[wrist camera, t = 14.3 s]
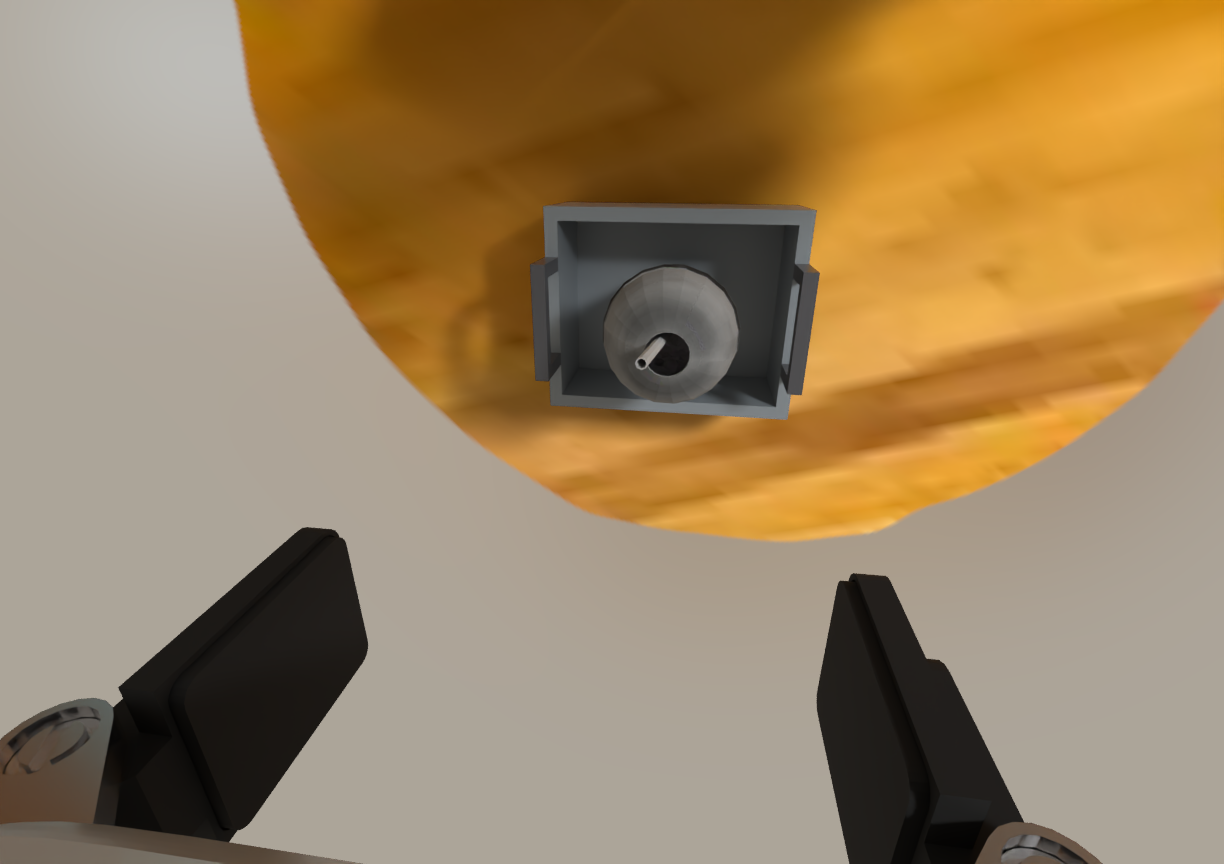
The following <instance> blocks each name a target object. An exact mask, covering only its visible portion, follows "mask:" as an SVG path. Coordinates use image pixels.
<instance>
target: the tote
mask: <svg viewBox="0 0 1224 864" xmlns="http://www.w3.org/2000/svg"><path fill="white" fill-rule="evenodd" d="M816 211H817V210H814V209H810V208H807V207H803V206H800V205H760V204H690V203H620V202H564V203H558V204H553V205H547V206H543V212H544V239H545V257H544V258H542V259H540V260H538V261H536V262H534V263H532V264H530V273H531V294H532V315H533V336H534V358H535V379H536V381H549V380H550V402H551V405H552V406H569V407H586V408H602V409H619V410H636V411H652V412H669V413H685V414H702V415H719V416H735V417H752V418H769V419H785V420H787V418H788V411H789V404H790V396H791V395H802V389H803V383H804V376H805V369H806V362H807V356H808V349H809V342H810V335H811V329H812V322H813V315H814V308H815V302H816V295H817V288H818V281H819V274H820V273H819V272H818V271H817V270H816V269H814V268H813V267H812V266H811V265H809V261H810V253H811V246H812V239H813V232H814V225H815V218H816ZM663 264H685V265H688V266H690V267H693V268H695V269H698V270H700V271H703V272H705V273H708V274H709V275H710V276H711V277H712V278H714V279H715V280H716V281H717V282H718V283H719V284H721V285H722V286H723V287H724V288H725V289H726V291H727V292H728V294H729V296H730V298H731V299H732V301H733V303H734V304H735V306H736V309H737V314H738V318H739V323H740V328H741V329H740V338H739V346H738V351H737V353H736V355H735V357H734V359H733V362H732V364H731V366H730V368H729V370H728V371H727V373H726V374H725V375H724V376H723V377H722V379H721V380H720V381H719V382H718V383H717V384H716V385H715V386H714V387H713V388H712V389H711V390H710V391H708V392H706V393H704V394H702V395H701V396H699V397H697V398H695V399H693V400H689V401H684V402H680V403H675V404H672V403H659V402H653V401H650V400H648V399H645V398H643V397H640V396H638V395H636V394H635V393H633V392H632V391H631V390H629V389H628V388H627V387H626V386H624V385H623V384H622V383H621V382H620V380H619V379H618V377H617V376H616V375H615V373H614V372H613V370H612V369H611V367H610V364H609V361H608V358H607V354H606V351H605V347H604V343H603V320H604V317H605V314H606V311H607V308H608V306H609V303H610V300H611V299H612V297H613V296H614V295H615V293H616V292H617V291H618V290H619V288H620V287H621V286H622V284H623V283H624V282H626V281H627V280H629V279H630V278H632V277H633V276H635V275H636V274H638V273H639V272H640V271H642V270H645V269H648V268H652V267H656V266H659V265H663Z"/></svg>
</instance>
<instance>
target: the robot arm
mask: <svg viewBox="0 0 1224 864" xmlns="http://www.w3.org/2000/svg"><path fill="white" fill-rule="evenodd" d="M367 649H368V641H367V636H366V631H365V627H364V622H363V618H362V613H361V609H360V604H359V599H358V595H357V590H356V586H355V582H354V577H353V573H352V568H351V563H350V559H349V554H348V550H347V546H346V542H345V540H344V539H343V538H339V535H338V533H337V532H336V531H335V530H332V529H321V528H309V527H306V528H302V529H300V530H299V531H298V532H296V533H295V534H294V535H293V536H292V537H290V538H289V539H288V540H287V541H286V542H285V543H284V544H283V545H281V546H280V547H279V548H278V549H277V550H276V551H274V552H273V553H272V554H271V555H270V556H269V557H267V558H266V559H265V560H264V561H263V562H262V563H261V564H259V565H258V566H257V567H256V568H255V569H254V570H253V571H251V572H250V573H249V574H248V575H247V576H246V577H245V578H243V579H242V580H241V581H240V582H239V583H238V584H237V585H235V586H234V587H233V588H232V589H231V590H230V591H228V593H226V594H225V595H224V596H223V597H222V598H220V599H219V600H218V601H217V602H216V603H215V604H214V605H213V606H211V607H210V608H209V609H208V610H207V611H206V612H204V613H203V614H202V615H201V616H200V617H199V618H197V619H196V620H195V621H194V622H193V623H192V624H191V625H189V626H188V627H187V628H186V629H185V630H184V631H183V632H181V633H180V634H179V635H178V636H177V637H176V638H175V639H173V640H172V641H171V642H170V643H169V644H168V645H166V647H164V648H163V649H162V650H161V651H160V652H159V653H157V654H156V655H155V656H154V657H153V658H152V659H150V660H149V661H148V662H147V663H146V664H145V665H144V666H142V667H141V668H140V669H139V670H138V671H137V672H135V673H134V674H133V675H132V676H131V677H130V678H129V679H127V680H126V681H125V682H124V683H123V684H122V685H121V686H119V690H120V692H121V694H122V697H123V699H122V700H121V701H120V702H119V703H118V704H117V705H115V706H114V707H112V706H111V705H110V704H109V703H108V702H107V701H105V700H100V699H97V698H87V699H78V700H74V701H70V702H66V703H62V704H59V705H57V706H54V707H52V708H49V709H47V710H45V711H42V712H40V713H38V714H37V715H35V716H33V717H31V718H29V719H28V720H26V721H24V722H22V723H21V724H19V725H18V726H17V727H15V728H14V729H13V730H11V731H10V732H9V733H7V734H6V735H5V736H4V737H2V738H1V740H0V864H361V863H355V862H349V861H343V860H336V859H330V858H324V857H317V856H311V855H305V854H299V853H292V852H286V851H280V850H273V849H267V848H260V847H254V846H248V845H242V844H236V843H229V841H230V840H231V838H232V837H233V836H234V834H235V833H236V832H237V830H241V829H243V828H244V827H246V826H247V825H248V824H249V823H250V822H251V821H252V819H253V818H254V816H255V815H256V813H257V812H258V811H259V809H260V808H261V807H262V805H263V804H264V802H265V801H266V799H267V798H268V796H269V795H270V794H271V792H272V791H273V790H274V788H275V787H276V785H277V784H278V782H279V781H280V780H281V778H282V777H283V775H284V774H285V772H286V771H287V770H288V768H289V767H290V765H291V764H292V762H293V761H294V759H295V758H296V757H297V755H298V754H299V752H300V751H301V750H302V748H303V747H304V745H305V744H306V743H307V741H308V740H309V738H310V737H311V735H312V734H313V733H314V731H315V730H316V728H317V727H318V726H319V724H320V723H321V721H322V720H323V718H324V717H325V716H326V714H327V713H328V711H329V710H330V708H331V707H332V706H333V704H334V703H335V701H336V700H337V698H338V697H339V696H340V694H341V693H342V691H343V690H344V689H345V687H346V686H347V684H348V683H349V681H350V680H351V679H352V677H353V676H354V674H355V673H356V671H357V670H358V668H359V667H360V666H361V664H362V663H363V661H364V659H365V657H366V654H367ZM817 712H818V717H819V722H820V727H821V732H822V737H823V741H824V746H825V751H826V755H827V760H828V765H829V770H830V774H831V779H832V784H833V789H834V793H835V798H836V803H837V807H838V812H839V817H840V822H841V826H842V831H843V836H844V840H845V845H846V849H847V855H848V859H849V864H1102V863H1101V862H1100V861H1099V860H1098V859H1097V858H1096V857H1095V856H1093V855H1092V854H1091V853H1089V852H1088V851H1087V850H1085V849H1084V848H1083V847H1082V846H1080V845H1079V844H1078V843H1076V842H1075V841H1073V840H1071V839H1069V838H1067V837H1065V836H1064V835H1062V834H1060V833H1058V832H1056V831H1054V830H1052V829H1049V828H1045V827H1043V826H1039V825H1036V824H1033V823H1024V821H1023V819H1022V817H1021V815H1020V813H1019V811H1018V809H1017V807H1016V805H1015V803H1014V801H1013V799H1012V797H1011V795H1010V793H1009V791H1008V789H1007V787H1006V785H1005V783H1004V781H1003V779H1002V777H1001V775H1000V773H999V771H998V769H997V767H996V765H995V763H994V761H993V759H992V757H991V755H990V752H989V751H988V748H987V747H986V745H985V742H984V740H983V739H982V736H981V734H980V732H979V730H978V729H977V726H976V724H975V722H974V720H973V718H972V716H971V714H970V712H969V710H968V708H967V706H966V704H965V702H964V700H963V698H962V696H961V694H960V692H959V690H958V688H957V686H956V684H955V682H954V680H953V678H952V676H951V674H950V672H949V670H948V669H947V667H946V666H945V664H944V663H942V662H941V661H940V660H933V659H926V657H925V655H924V653H923V651H922V649H921V647H920V645H919V642H918V640H917V638H916V636H915V634H914V631H913V629H912V627H911V625H910V623H909V621H908V619H907V616H906V614H905V612H904V610H903V608H902V605H901V603H900V601H899V599H898V597H897V595H896V593H895V590H894V588H893V586H892V584H891V582H890V580H889V578H888V577H886V576H878V575H866V574H854V573H853V574H851V576H850V578H849V581H839V583H838V586H837V591H836V596H835V601H834V607H833V612H832V617H831V623H830V628H829V633H828V638H827V643H826V648H825V654H824V659H823V664H822V669H821V675H820V680H819V686H818V691H817Z"/></svg>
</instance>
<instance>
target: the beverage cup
mask: <svg viewBox="0 0 1224 864" xmlns="http://www.w3.org/2000/svg"><path fill="white" fill-rule="evenodd" d="M740 329H741V328H740V323H739V318H738V314H737V309H736V306H735V304H734V303H733V301H732V299H731V298H730V296H729V294H728V292H727V291H726V289H725V288H724V287H723V286H722V285H721V284H719V283H718V282H717V281H716V280H715V279H714V278H712V277H711V276H710V275H709V274H708V273H705V272H703V271H700V270H698V269H695V268H693V267H690V266H688V265H685V264H663V265H659V266H656V267H652V268H648V269H645V270H642V271H640V272H639V273H638V274H636V275H635V276H633V277H632V278H630V279H629V280H627V281H626V282H624V283H623V284H622V286H621V287H620V288H619V290H618V291H617V292H616V293H615V295H614V296H613V297H612V299H611V300H610V303H609V306H608V308H607V311H606V314H605V317H604V320H603V343H604V347H605V351H606V354H607V358H608V361H609V364H610V367H611V369H612V370H613V372H614V373H615V375H616V376H617V377H618V379H619V380H620V382H621V383H622V384H623V385H624V386H626V387H627V388H628V389H629V390H631V391H632V392H633V393H635V394H636V395H638V396H640V397H643V398H645V399H648V400H650V401H653V402H659V403H672V404H675V403H680V402H684V401H689V400H693V399H695V398H697V397H699V396H701V395H702V394H704V393H706V392H708V391H710V390H711V389H712V388H713V387H714V386H715V385H716V384H717V383H718V382H719V381H720V380H721V379H722V377H723V376H724V375H725V374H726V373H727V371H728V370H729V368H730V366H731V364H732V362H733V359H734V357H735V355H736V353H737V351H738V346H739V338H740Z"/></svg>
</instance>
